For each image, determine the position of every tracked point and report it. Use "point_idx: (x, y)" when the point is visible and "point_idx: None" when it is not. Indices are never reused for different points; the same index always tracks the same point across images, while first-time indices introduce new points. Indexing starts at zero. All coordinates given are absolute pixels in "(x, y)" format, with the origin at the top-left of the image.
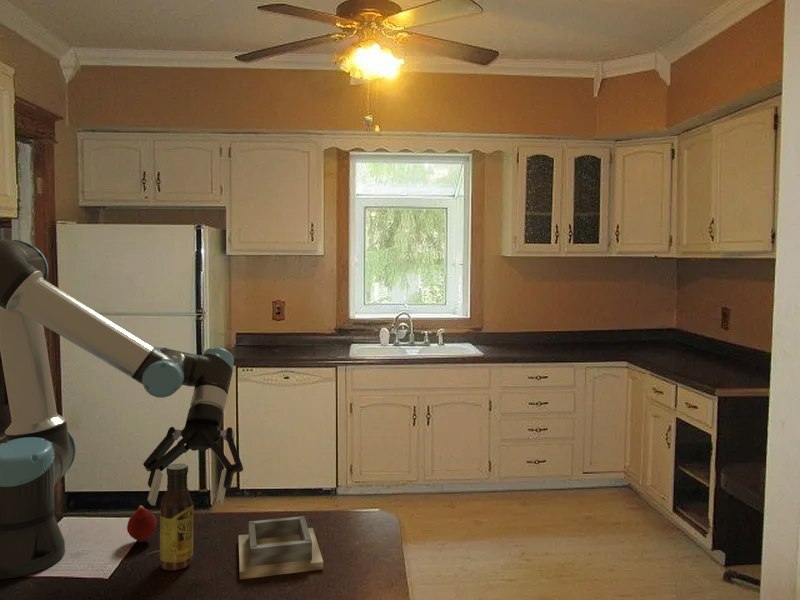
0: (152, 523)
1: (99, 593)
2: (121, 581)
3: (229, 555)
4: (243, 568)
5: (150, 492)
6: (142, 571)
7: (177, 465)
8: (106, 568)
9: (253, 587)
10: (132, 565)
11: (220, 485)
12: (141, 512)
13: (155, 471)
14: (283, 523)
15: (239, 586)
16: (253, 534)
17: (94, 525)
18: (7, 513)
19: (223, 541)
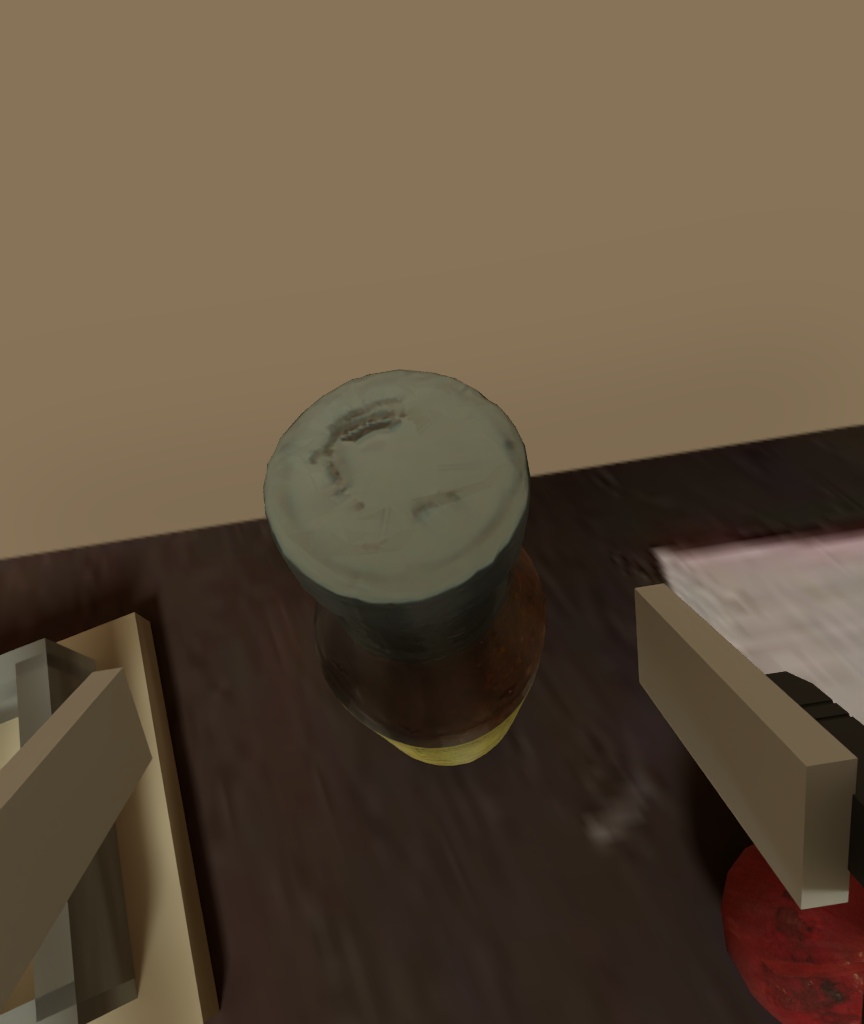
0: (741, 913)
1: (608, 464)
2: (588, 540)
3: (235, 827)
4: (122, 639)
5: (684, 610)
6: (558, 618)
7: (408, 500)
8: (724, 617)
9: (92, 579)
10: (634, 658)
11: (39, 753)
12: (860, 914)
13: (833, 740)
14: None
15: (144, 578)
16: None
17: None
18: None
19: (311, 1009)
